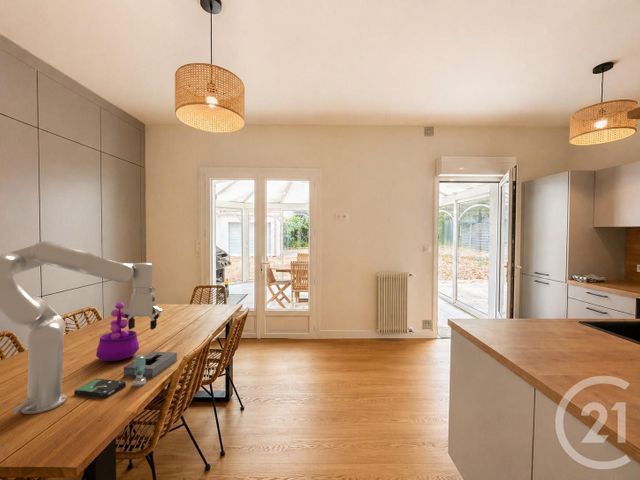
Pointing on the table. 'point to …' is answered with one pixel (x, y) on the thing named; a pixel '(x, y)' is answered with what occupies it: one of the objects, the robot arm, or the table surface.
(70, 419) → the table surface
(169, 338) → the table surface
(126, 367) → the keyhole deck
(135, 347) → the decorative plant
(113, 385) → the disk drive
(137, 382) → the teal rounded piece
